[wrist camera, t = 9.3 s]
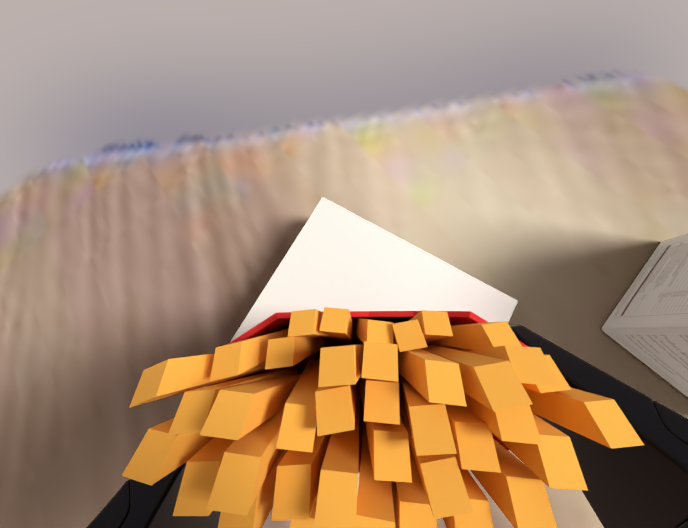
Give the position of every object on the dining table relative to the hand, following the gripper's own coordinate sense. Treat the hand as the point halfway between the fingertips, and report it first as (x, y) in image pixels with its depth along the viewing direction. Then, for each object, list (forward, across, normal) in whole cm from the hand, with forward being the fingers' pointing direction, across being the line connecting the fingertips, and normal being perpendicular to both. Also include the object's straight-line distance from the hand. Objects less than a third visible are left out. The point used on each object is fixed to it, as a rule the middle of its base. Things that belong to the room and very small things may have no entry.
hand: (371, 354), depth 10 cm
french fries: (+5, 0, +6) cm, 8 cm away
